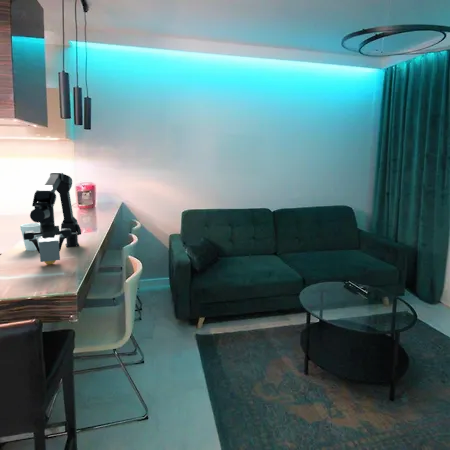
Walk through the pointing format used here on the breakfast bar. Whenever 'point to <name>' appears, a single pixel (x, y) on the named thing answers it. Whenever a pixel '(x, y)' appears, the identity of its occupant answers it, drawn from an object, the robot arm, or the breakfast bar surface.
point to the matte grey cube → (49, 249)
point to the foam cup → (30, 227)
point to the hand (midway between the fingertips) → (49, 252)
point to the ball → (50, 262)
